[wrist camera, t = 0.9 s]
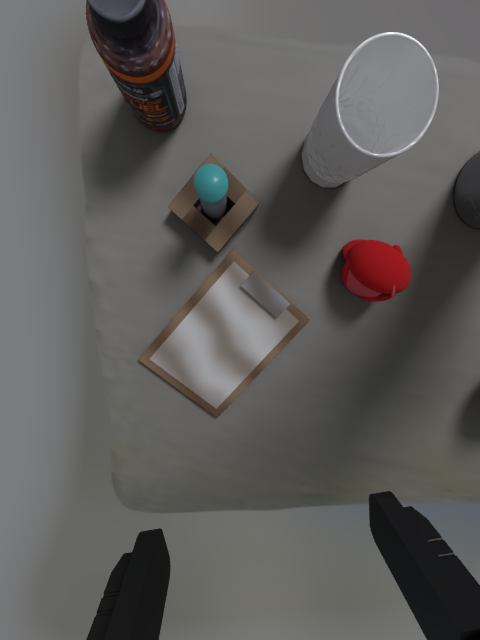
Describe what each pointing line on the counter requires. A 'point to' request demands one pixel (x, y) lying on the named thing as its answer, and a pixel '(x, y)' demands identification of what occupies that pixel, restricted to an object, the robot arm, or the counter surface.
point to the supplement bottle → (140, 57)
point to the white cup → (372, 109)
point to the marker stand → (211, 234)
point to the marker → (212, 189)
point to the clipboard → (224, 335)
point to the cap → (375, 269)
